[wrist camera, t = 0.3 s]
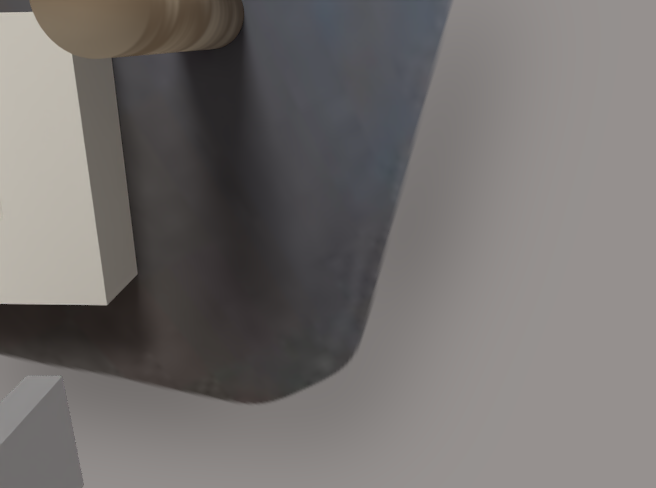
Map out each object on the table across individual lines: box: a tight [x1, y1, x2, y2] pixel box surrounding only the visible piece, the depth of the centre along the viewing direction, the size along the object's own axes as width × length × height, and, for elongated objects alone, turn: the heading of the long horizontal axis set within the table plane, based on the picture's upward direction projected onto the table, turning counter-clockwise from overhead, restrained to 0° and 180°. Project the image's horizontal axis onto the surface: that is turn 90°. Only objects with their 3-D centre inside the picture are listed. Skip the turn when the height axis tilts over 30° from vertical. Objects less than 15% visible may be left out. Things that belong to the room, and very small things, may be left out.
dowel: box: [30, 0, 244, 59], centre depth 28 cm, size 4×4×16 cm
